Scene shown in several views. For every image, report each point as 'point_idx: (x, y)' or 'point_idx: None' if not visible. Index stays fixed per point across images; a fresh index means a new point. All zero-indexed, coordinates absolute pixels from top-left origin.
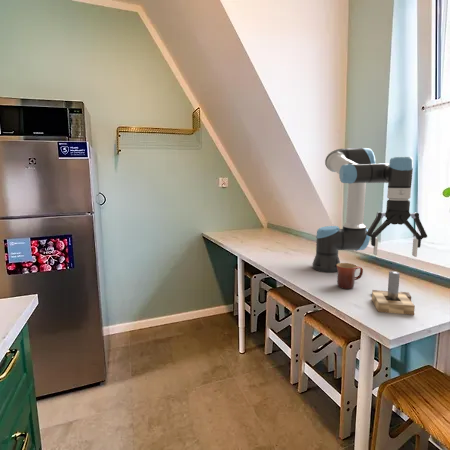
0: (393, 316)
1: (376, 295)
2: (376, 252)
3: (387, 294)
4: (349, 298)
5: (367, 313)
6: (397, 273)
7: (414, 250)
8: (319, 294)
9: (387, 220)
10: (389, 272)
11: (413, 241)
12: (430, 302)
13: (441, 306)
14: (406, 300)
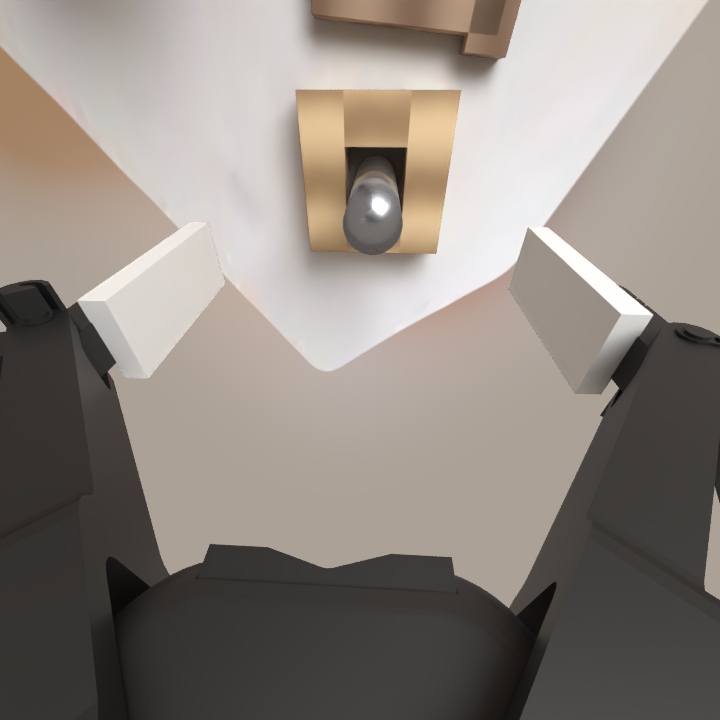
0: (358, 266)
1: (311, 156)
2: (212, 293)
3: (366, 127)
4: (202, 97)
5: (279, 258)
6: (384, 244)
7: (529, 305)
8: (49, 64)
9: (22, 652)
10: (343, 229)
11: (590, 302)
12: (592, 60)
13: (606, 116)
14: (428, 200)
